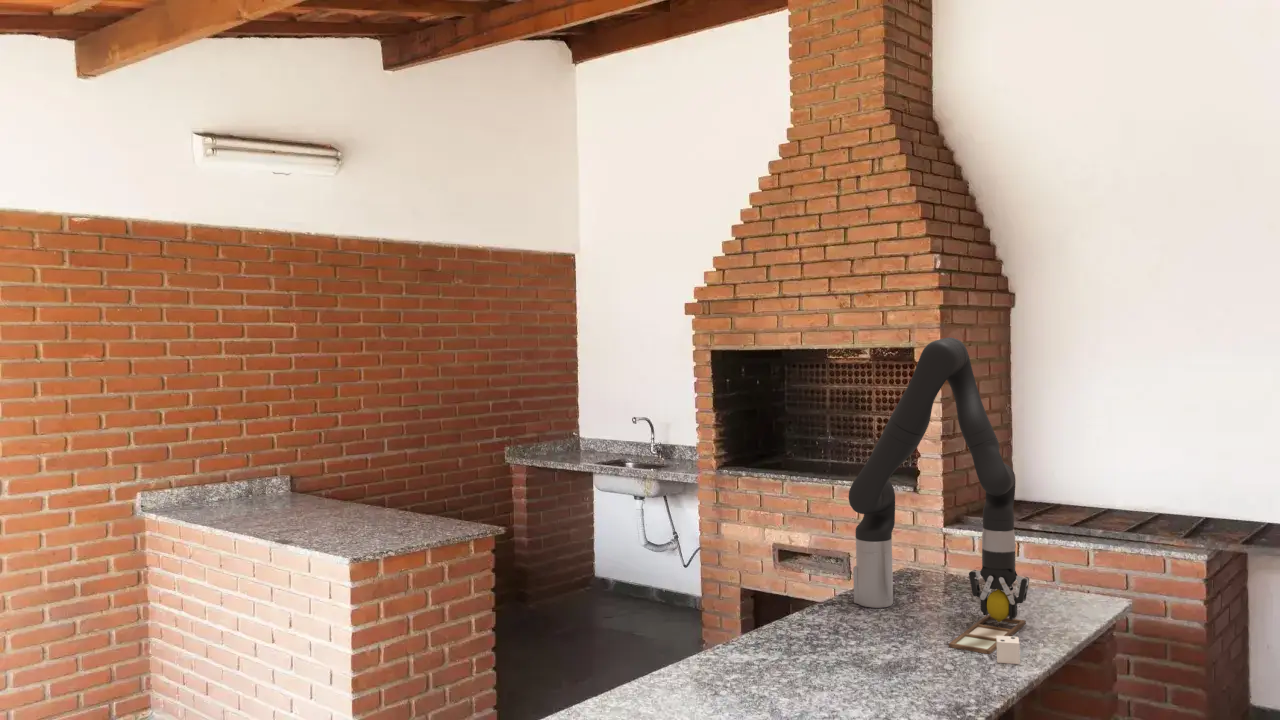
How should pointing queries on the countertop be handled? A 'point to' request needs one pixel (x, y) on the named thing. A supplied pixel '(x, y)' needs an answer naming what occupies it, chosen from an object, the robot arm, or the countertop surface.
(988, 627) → the board
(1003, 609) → the lemon
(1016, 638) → the die
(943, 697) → the countertop surface
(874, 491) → the robot arm
